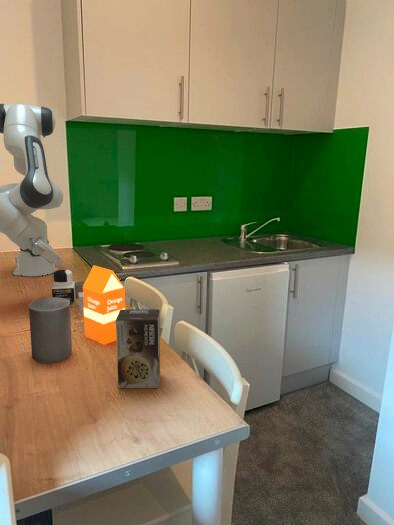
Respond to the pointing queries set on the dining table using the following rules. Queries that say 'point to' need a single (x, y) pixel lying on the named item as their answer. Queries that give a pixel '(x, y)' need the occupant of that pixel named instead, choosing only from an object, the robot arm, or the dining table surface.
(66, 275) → the medicine bottle
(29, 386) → the dining table surface
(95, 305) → the orange juice
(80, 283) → the walnut block
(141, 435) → the dining table surface
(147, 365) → the coffee box
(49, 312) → the pillar candle
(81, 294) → the grey painted block
